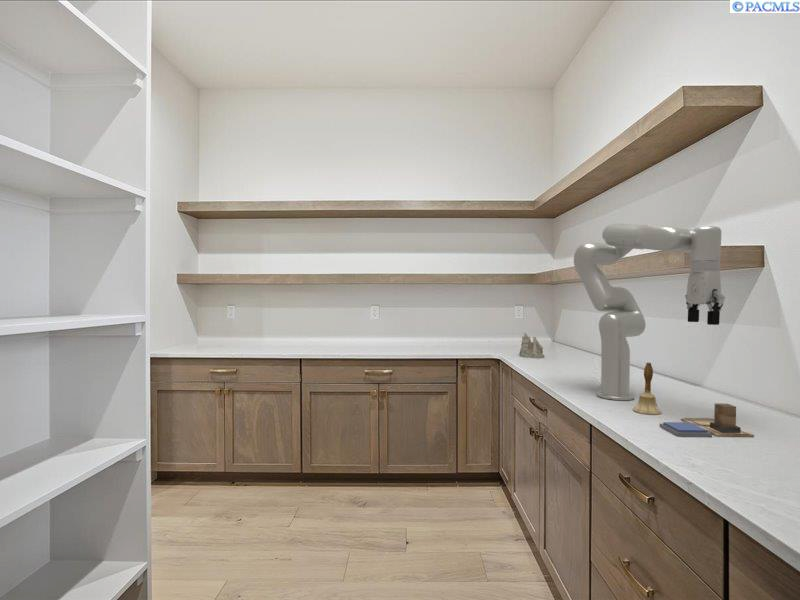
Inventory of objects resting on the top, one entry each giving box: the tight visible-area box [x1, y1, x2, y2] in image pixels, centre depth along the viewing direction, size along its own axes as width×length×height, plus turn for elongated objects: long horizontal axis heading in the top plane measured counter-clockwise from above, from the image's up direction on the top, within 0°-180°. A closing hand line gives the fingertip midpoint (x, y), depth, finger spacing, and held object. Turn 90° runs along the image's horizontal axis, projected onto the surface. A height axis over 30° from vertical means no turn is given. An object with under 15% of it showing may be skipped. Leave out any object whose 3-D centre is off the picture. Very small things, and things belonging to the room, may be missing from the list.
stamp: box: [710, 402, 742, 433], centre depth 127 cm, size 5×5×7 cm
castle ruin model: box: [518, 332, 545, 359], centre depth 282 cm, size 16×16×15 cm
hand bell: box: [632, 362, 663, 416], centre depth 149 cm, size 8×8×16 cm
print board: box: [680, 417, 755, 438], centre depth 131 cm, size 16×10×1 cm, turn 179°
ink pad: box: [659, 421, 713, 438], centre depth 127 cm, size 9×9×2 cm
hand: (702, 323), depth 141 cm, fingers open, 9 cm apart
